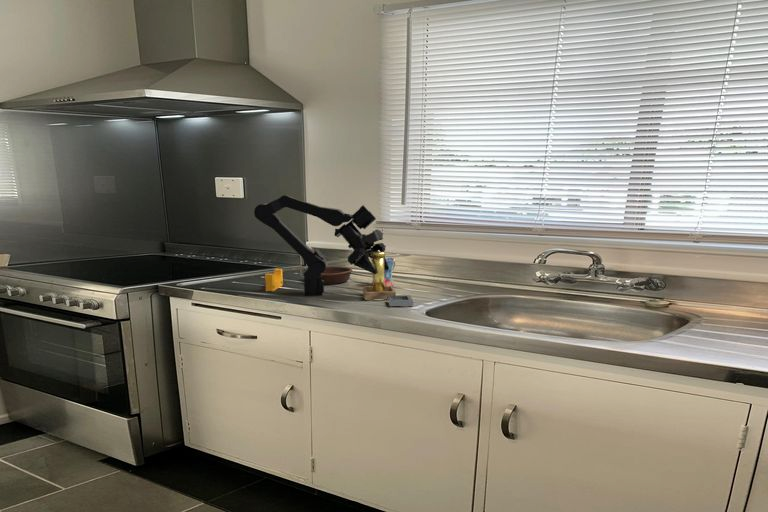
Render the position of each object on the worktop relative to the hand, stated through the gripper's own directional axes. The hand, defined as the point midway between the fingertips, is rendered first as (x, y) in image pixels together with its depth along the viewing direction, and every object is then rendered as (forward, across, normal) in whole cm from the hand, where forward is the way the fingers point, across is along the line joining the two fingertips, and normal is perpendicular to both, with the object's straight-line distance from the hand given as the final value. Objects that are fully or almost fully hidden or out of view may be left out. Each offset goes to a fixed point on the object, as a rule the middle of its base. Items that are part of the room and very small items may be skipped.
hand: (382, 271), depth 178 cm
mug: (+1, +18, +12) cm, 22 cm away
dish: (-16, +16, +29) cm, 37 cm away
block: (+13, -6, 0) cm, 15 cm away
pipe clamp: (-25, -4, +38) cm, 46 cm away
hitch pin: (+5, 0, +7) cm, 9 cm away
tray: (+6, 0, +7) cm, 9 cm away
